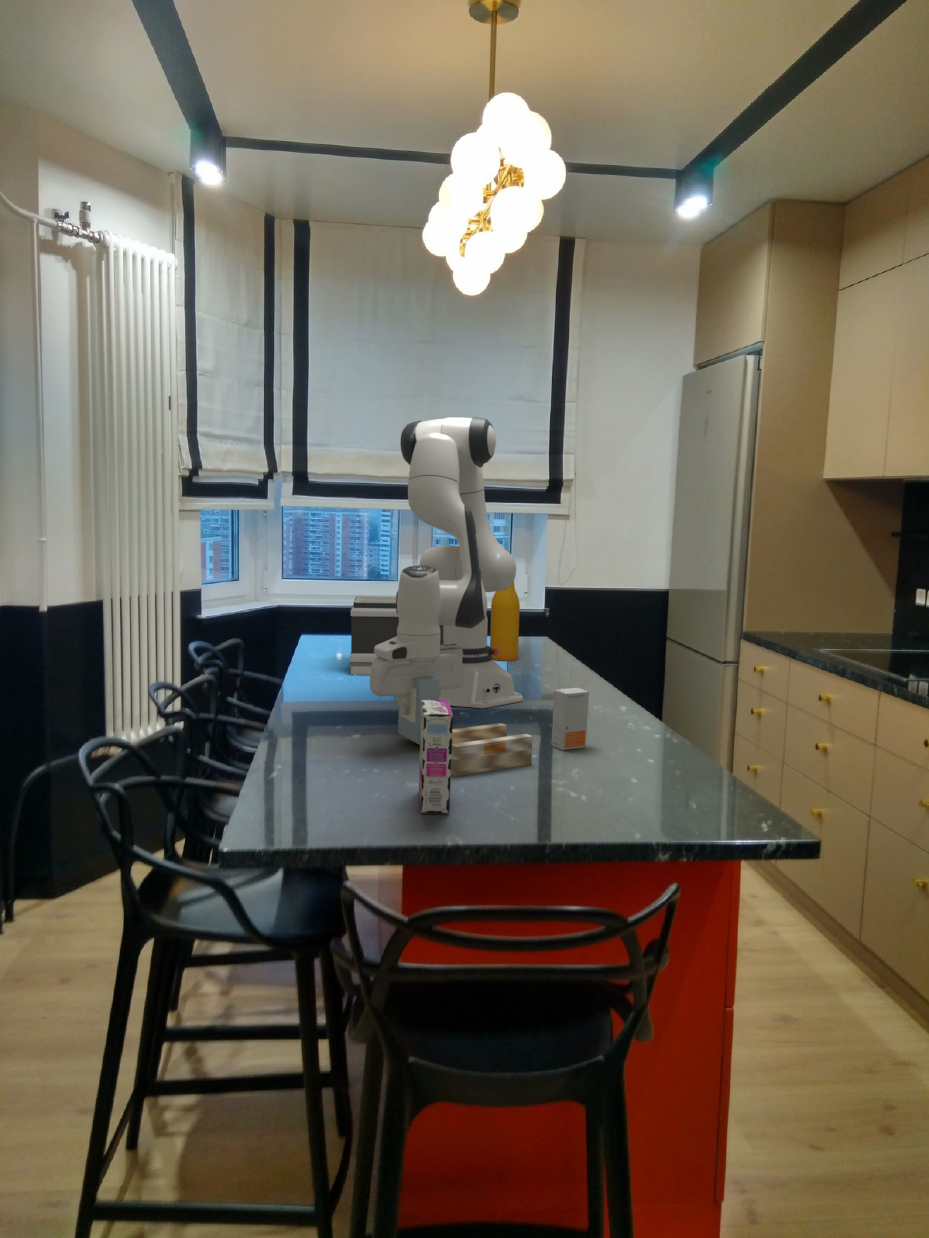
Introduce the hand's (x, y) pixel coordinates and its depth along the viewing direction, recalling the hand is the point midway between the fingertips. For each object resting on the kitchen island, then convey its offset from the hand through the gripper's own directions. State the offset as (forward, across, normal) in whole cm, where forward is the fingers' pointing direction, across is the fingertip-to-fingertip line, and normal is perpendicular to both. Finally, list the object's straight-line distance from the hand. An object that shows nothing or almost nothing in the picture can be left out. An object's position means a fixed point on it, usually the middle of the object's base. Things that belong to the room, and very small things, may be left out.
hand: (417, 712), depth 176 cm
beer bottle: (+8, -71, -76) cm, 104 cm away
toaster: (+8, -34, -71) cm, 79 cm away
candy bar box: (+7, +14, +32) cm, 35 cm away
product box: (+5, 0, 0) cm, 5 cm away
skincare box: (+7, -28, +15) cm, 32 cm away
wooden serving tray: (+7, -5, +16) cm, 18 cm away
